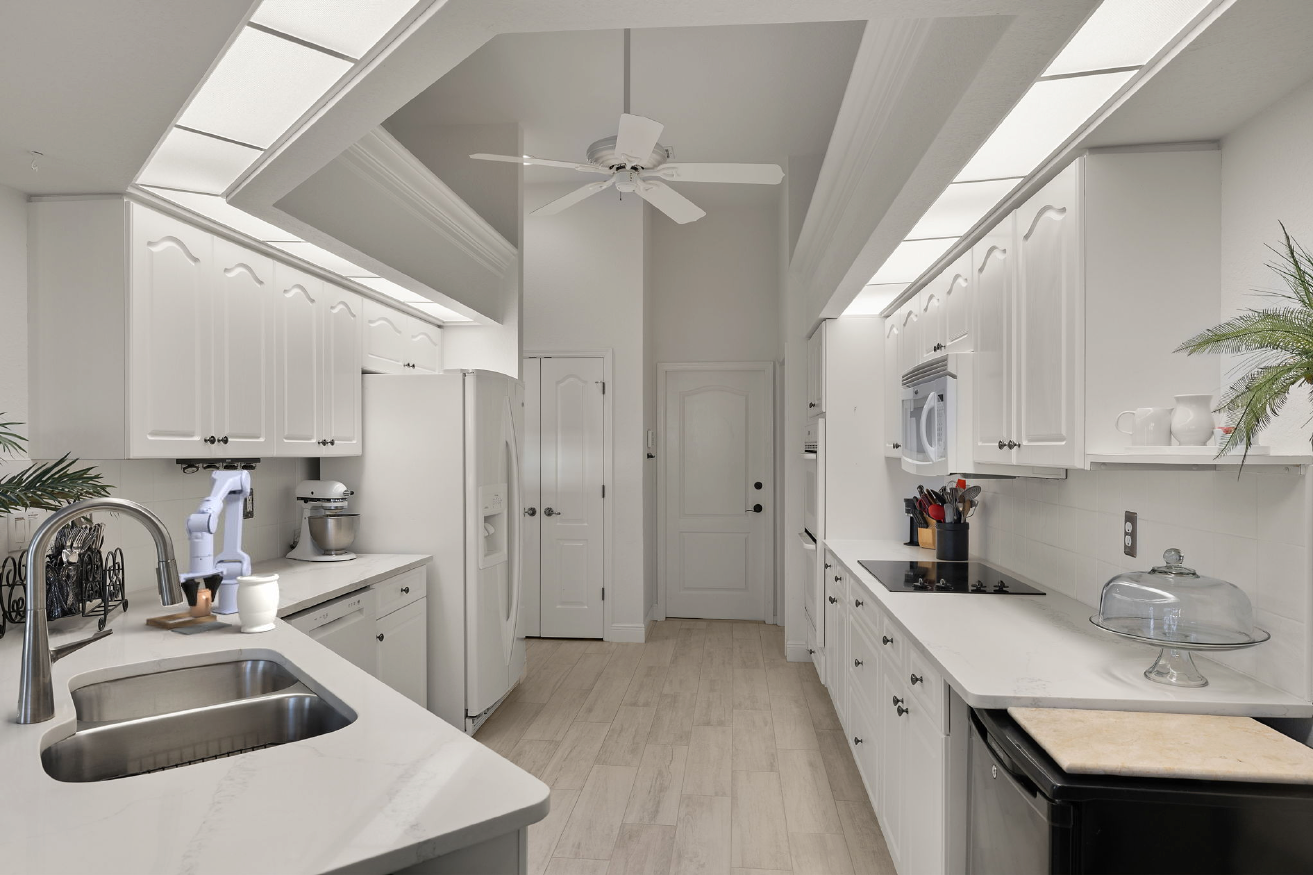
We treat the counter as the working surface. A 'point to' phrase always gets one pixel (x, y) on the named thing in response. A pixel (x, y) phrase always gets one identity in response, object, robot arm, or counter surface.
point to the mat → (201, 627)
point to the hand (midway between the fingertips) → (201, 604)
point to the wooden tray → (163, 623)
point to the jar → (257, 602)
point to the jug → (202, 603)
